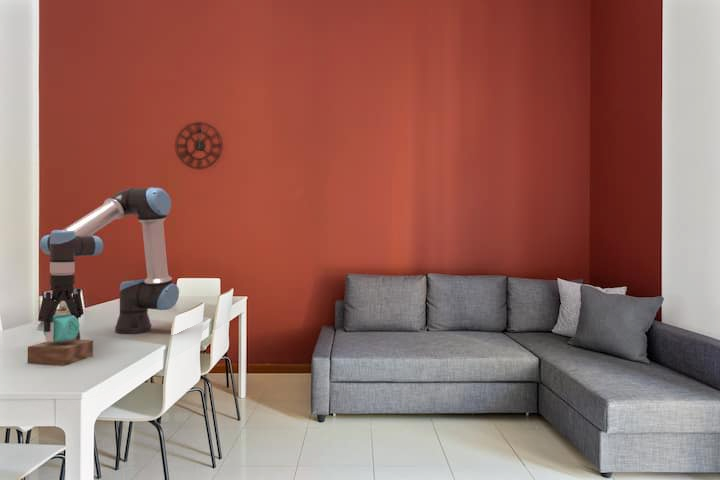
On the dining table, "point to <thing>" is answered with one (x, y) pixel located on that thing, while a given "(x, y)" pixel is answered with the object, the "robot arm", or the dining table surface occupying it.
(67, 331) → the decorative dice
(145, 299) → the robot arm
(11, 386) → the dining table surface
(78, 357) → the walnut block
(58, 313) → the ceramic cottage
